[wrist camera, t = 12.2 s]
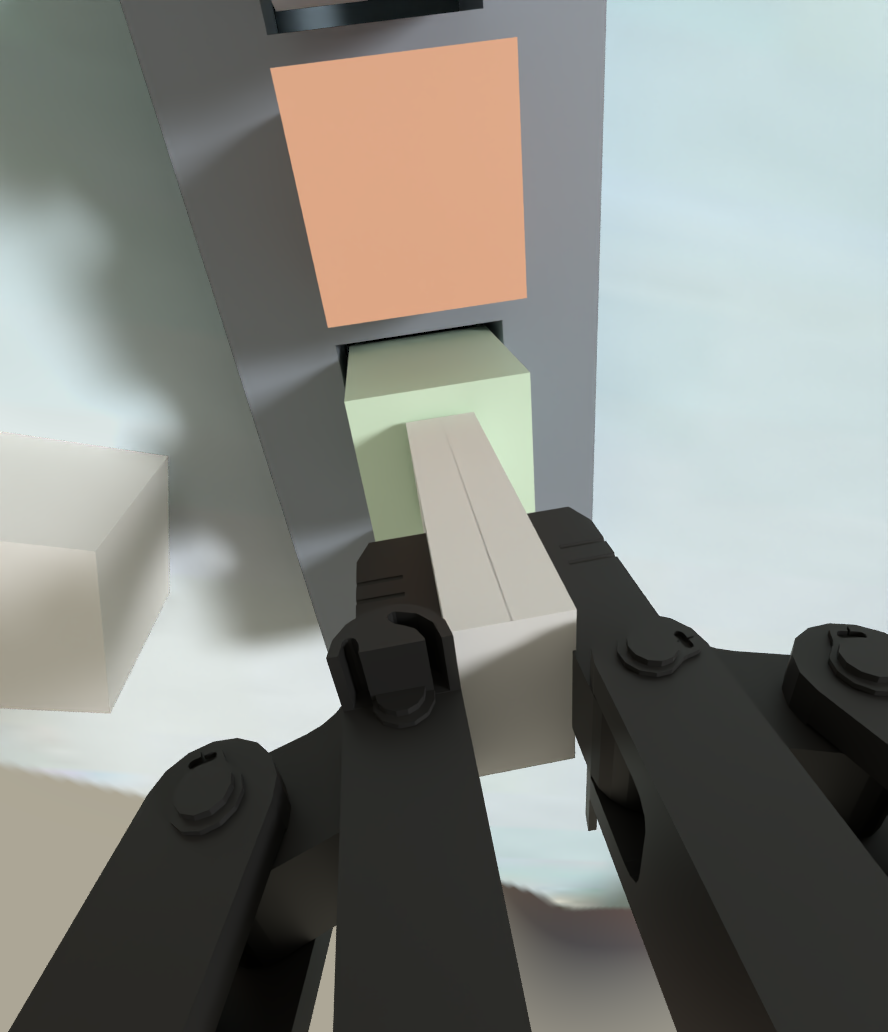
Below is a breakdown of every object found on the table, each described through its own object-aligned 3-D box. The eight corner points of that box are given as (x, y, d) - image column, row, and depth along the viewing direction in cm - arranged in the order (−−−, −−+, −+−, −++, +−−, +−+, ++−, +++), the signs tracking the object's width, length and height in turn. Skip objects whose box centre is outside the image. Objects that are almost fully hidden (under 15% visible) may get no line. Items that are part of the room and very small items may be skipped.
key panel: (564, 563, 23) (589, 609, 21) (332, 604, 23) (329, 656, 20) (561, -318, 11) (620, -470, 9) (75, -272, 11) (-14, -418, 8)
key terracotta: (480, 269, 15) (526, 298, 11) (338, 290, 15) (327, 327, 11) (466, 89, 13) (517, 36, 9) (301, 111, 13) (269, 68, 9)
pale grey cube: (-2, 574, 20) (-128, 702, 15) (-31, 424, 17) (-199, 519, 12) (171, 591, 22) (110, 714, 16) (170, 454, 19) (94, 551, 14)
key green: (494, 449, 18) (535, 528, 14) (374, 469, 18) (378, 555, 13) (485, 325, 16) (530, 372, 12) (349, 345, 16) (344, 401, 11)
